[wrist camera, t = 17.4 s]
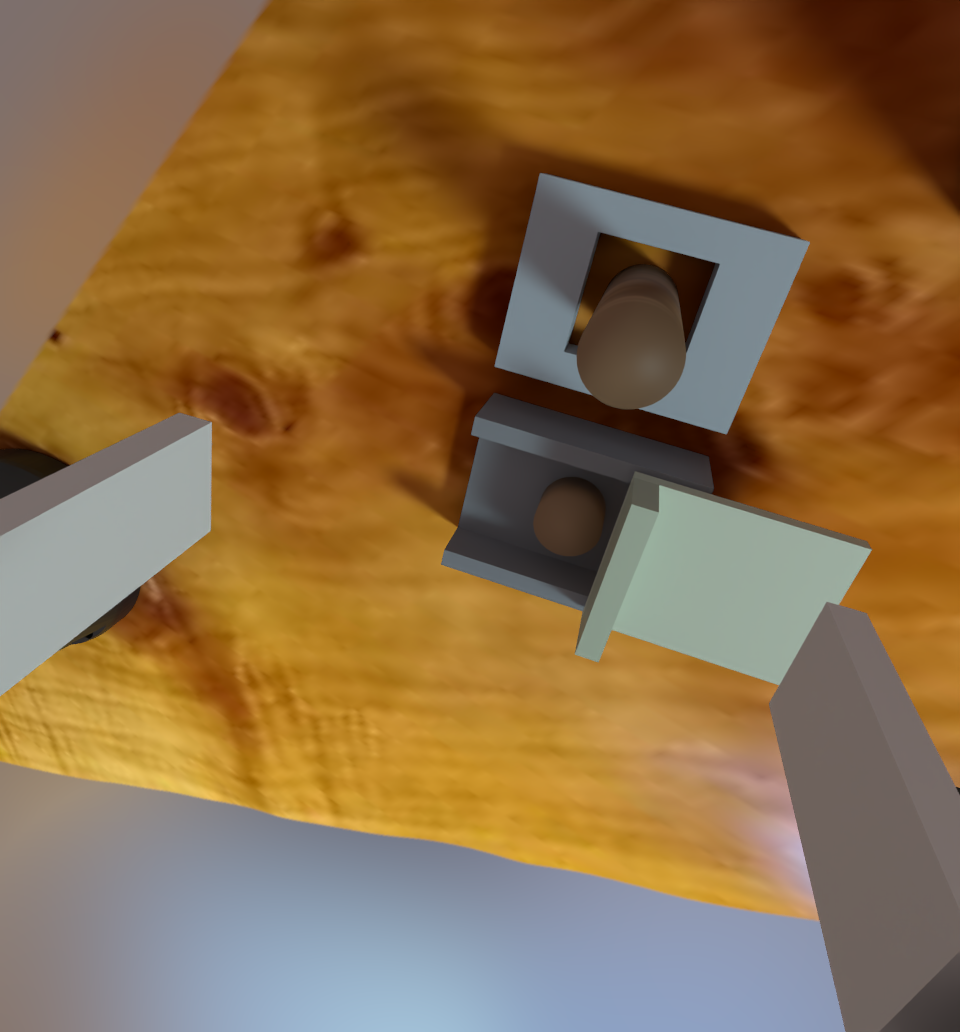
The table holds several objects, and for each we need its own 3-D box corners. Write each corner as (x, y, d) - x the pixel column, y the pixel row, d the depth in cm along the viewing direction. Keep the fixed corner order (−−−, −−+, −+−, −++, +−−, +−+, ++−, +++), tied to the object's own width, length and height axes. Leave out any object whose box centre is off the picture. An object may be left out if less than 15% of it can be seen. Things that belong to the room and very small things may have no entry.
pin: (594, 328, 34) (564, 393, 23) (616, 255, 32) (594, 289, 22) (663, 348, 33) (664, 421, 23) (689, 274, 32) (702, 318, 21)
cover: (582, 611, 36) (574, 654, 33) (634, 471, 32) (631, 504, 28) (785, 678, 35) (798, 729, 31) (867, 541, 31) (892, 584, 27)
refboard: (461, 529, 41) (441, 564, 37) (494, 392, 37) (475, 416, 33) (651, 591, 40) (649, 633, 36) (708, 456, 35) (714, 488, 32)
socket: (502, 357, 36) (494, 366, 34) (547, 173, 31) (539, 172, 30) (723, 421, 34) (726, 434, 33) (801, 238, 30) (810, 242, 28)
